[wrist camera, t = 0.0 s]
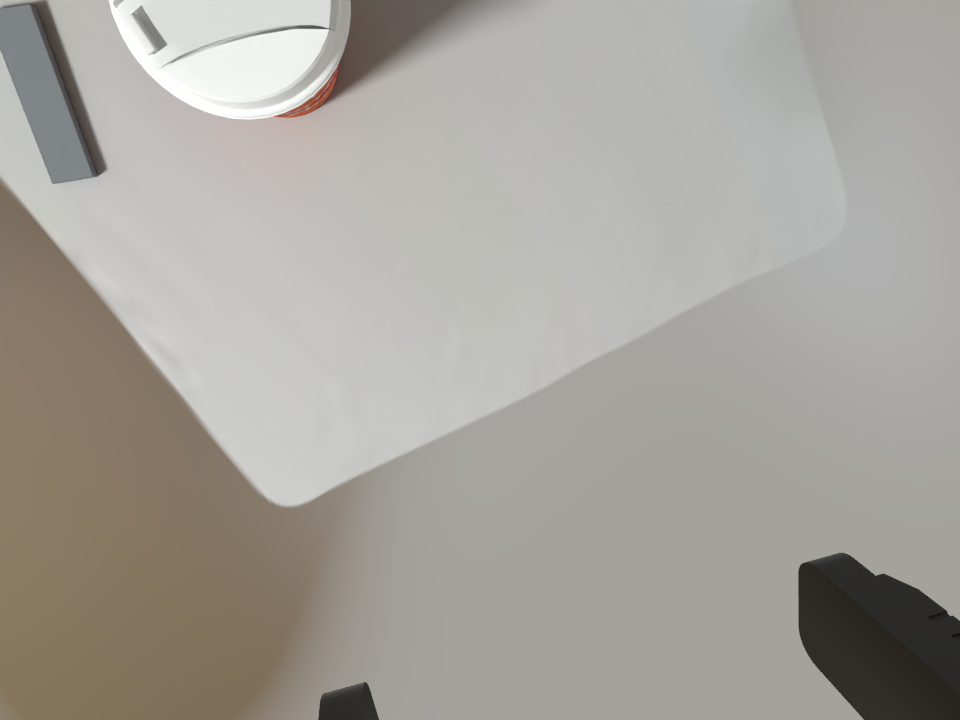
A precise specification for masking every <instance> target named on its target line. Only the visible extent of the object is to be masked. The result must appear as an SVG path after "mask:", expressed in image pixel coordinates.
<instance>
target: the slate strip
mask: <svg viewBox="0 0 960 720" xmlns="http://www.w3.org/2000/svg"><path fill="white" fill-rule="evenodd" d="M0 50H1V52H2V55H3V58H4V60H5V63H6V65H7V68H8V70H9V73H10V76H11V78H12V81H13V83H14V86H15V88H16V91H17V94H18V96H19V99H20V101H21V104H22V106H23V109H24V112H25V114H26V117H27V119H28V122H29V124H30V127H31V130H32V132H33V135H34V137H35V140H36V142H37V145H38V148H39V150H40V153H41V155H42V158H43V161H44V163H45V166H46V168H47V171H48V173H49V176H50V179H51V181H52V184H56V183H63V182H69V181H75V180H80V179H86V178H92V177H97V173H96V171H95V168H94V165H93V162H92V160H91V157H90V154H89V151H88V149H87V146H86V143H85V140H84V138H83V135H82V132H81V129H80V127H79V124H78V121H77V119H76V116H75V113H74V110H73V108H72V105H71V102H70V99H69V97H68V94H67V91H66V88H65V86H64V83H63V80H62V77H61V75H60V72H59V69H58V66H57V64H56V61H55V58H54V55H53V53H52V50H51V47H50V44H49V42H48V39H47V36H46V33H45V31H44V28H43V25H42V22H41V20H40V17H39V14H38V11H37V9H36V7H34V6H32V5H30V4H29V5H22V6H15V7H8V8H1V9H0Z"/></svg>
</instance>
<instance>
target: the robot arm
mask: <svg viewBox="0 0 960 720" xmlns="http://www.w3.org/2000/svg"><path fill="white" fill-rule="evenodd" d="M799 633H800V637H801V640H802V643H803V646H804V648H805V650H806V652H807V654H808V655H809V657H810V659H811V660H812V661H813V663H814V664H815V665H816V666H817V668H818V669H819V670H820V671H821V672H822V673H823V674H824V676H825V677H826V678H827V679H828V680H829V681H830V682H831V683H832V684H833V685H834V687H835V688H836V689H837V690H838V691H839V692H840V693H841V694H842V695H843V697H844V698H845V699H846V700H847V701H848V702H849V703H850V704H851V706H852V707H853V708H854V709H855V710H856V711H857V712H858V713H859V714H860V716H861V717H862V718H863V719H864V720H960V621H959V620H958V619H957V618H955V617H954V616H949V615H948V613H947V611H946V610H945V609H943V608H942V607H941V606H939V605H938V604H937V603H935V602H934V601H933V600H932V599H930V598H929V597H928V596H926V595H925V594H924V593H922V592H921V591H920V590H919V589H916V588H914V587H912V586H910V585H907V584H905V583H903V582H901V581H899V580H896V579H894V578H892V577H890V576H888V575H885V574H881V575H877V576H875V575H874V574H873V573H871V572H870V571H869V570H868V569H866V568H865V567H864V566H863V565H862V564H860V563H859V562H858V561H857V560H855V559H854V558H852V557H851V556H850V555H848V554H845V553H838V554H834V555H831V556H827V557H823V558H820V559H816V560H813V561H809V562H805V563H803V564H801V566H800V568H799ZM318 720H379V718H378V715H377V712H376V708H375V705H374V702H373V698H372V695H371V692H370V689H369V686H368V684H367V683H366V682H364V683H361V684H357V685H353V686H350V687H346V688H342V689H339V690H335V691H331V692H328V693H324V694H323V695H322V697H321V700H320V710H319V719H318Z"/></svg>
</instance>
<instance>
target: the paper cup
mask: <svg viewBox="0 0 960 720" xmlns="http://www.w3.org/2000/svg"><path fill="white" fill-rule="evenodd" d="M109 3H110V7H111V10H112V14H113V17H114V19H115V21H116V24H117V26H118V28H119V31H120V33H121V35H122V37H123V39H124V41H125V42H126V44H127V46H128V47H129V49H130V51H131V52H132V54H133V55H134V57H135V58H136V59H137V60H138V62H139V63H140V64H141V65H142V67H143V68H144V69H145V70H146V72H147V73H148V74H149V75H151V76H152V77H153V78H154V79H155V80H156V81H157V82H158V83H159V84H160V85H161V86H162V87H163V88H165V89H166V90H167V91H169V92H170V93H172V94H173V95H174V96H176V97H177V98H178V99H180V100H182V101H184V102H186V103H188V104H189V105H191V106H193V107H195V108H197V109H200V110H203V111H205V112H208V113H211V114H214V115H218V116H223V117H227V118H232V119H250V120H251V119H260V118H269V117H272V116H275V117H298V116H302V115H305V114H308V113H310V112H312V111H314V110H316V109H317V108H318V107H320V106H321V105H322V104H323V103H324V102H325V101H326V100H327V98H328V97H329V96H330V94H331V92H332V90H333V88H334V86H335V83H336V80H337V76H338V70H339V61H340V59H341V57H342V55H343V52H344V49H345V46H346V42H347V38H348V35H349V28H350V20H351V0H109Z"/></svg>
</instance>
